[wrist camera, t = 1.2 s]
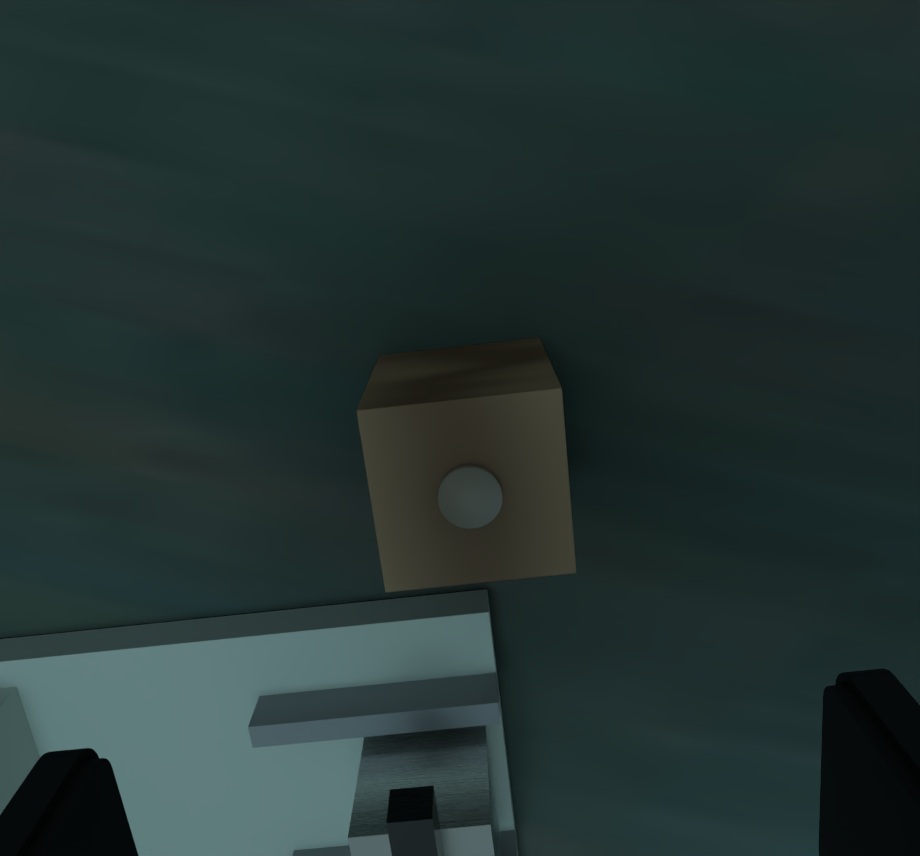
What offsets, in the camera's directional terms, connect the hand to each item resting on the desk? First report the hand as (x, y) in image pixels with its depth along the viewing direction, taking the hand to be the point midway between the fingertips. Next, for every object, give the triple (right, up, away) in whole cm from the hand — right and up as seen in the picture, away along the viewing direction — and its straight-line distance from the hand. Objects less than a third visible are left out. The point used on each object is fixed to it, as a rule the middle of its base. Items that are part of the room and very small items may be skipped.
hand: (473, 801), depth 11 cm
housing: (0, +5, +16) cm, 17 cm away
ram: (-1, -7, +18) cm, 19 cm away
